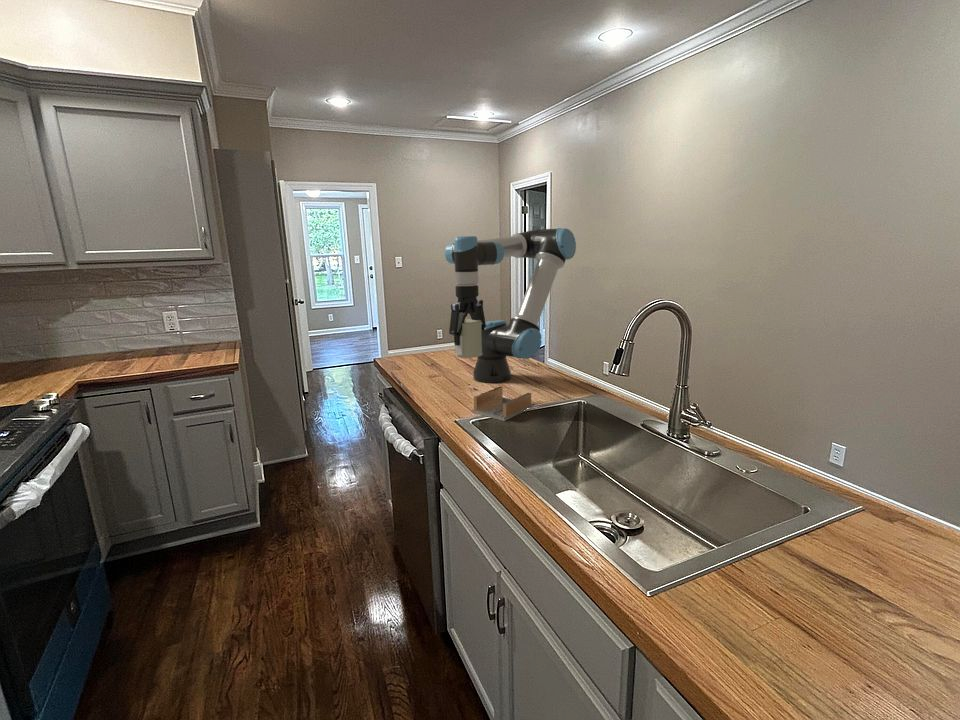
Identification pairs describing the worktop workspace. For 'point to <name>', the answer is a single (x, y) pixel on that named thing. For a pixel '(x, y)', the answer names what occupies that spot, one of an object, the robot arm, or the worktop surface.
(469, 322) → the can
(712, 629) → the worktop surface
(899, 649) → the worktop surface
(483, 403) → the rail holder
